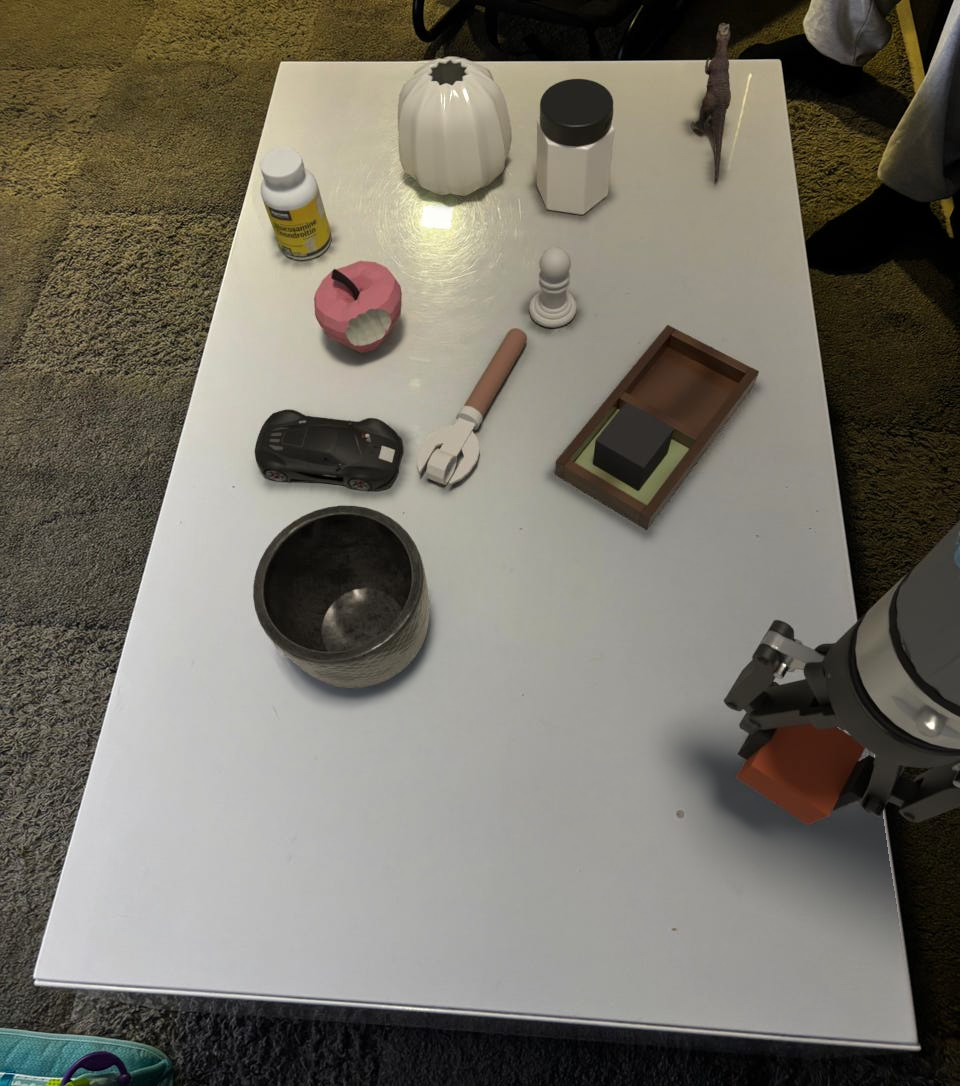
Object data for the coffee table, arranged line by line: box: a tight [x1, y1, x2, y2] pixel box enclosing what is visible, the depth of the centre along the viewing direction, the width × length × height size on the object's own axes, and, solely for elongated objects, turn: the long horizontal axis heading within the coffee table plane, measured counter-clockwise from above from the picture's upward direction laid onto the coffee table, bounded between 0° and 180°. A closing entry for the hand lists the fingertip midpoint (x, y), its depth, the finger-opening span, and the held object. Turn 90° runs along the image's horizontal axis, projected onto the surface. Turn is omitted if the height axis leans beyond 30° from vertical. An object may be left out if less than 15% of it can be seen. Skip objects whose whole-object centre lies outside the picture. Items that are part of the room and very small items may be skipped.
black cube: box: [593, 402, 674, 491], centre depth 81 cm, size 6×6×4 cm
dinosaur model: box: [690, 22, 732, 179], centre depth 98 cm, size 4×12×15 cm
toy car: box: [254, 408, 404, 492], centre depth 84 cm, size 7×15×4 cm, turn 81°
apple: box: [313, 260, 403, 354], centre depth 89 cm, size 10×9×10 cm
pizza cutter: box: [416, 327, 528, 486], centre depth 87 cm, size 20×6×3 cm, turn 154°
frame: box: [554, 324, 760, 531], centre depth 84 cm, size 11×21×3 cm, turn 143°
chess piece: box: [528, 246, 578, 329], centre depth 89 cm, size 5×5×9 cm
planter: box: [252, 504, 431, 689], centre depth 72 cm, size 14×14×13 cm
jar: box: [536, 78, 616, 216], centre depth 96 cm, size 9×8×12 cm
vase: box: [397, 56, 513, 197], centre depth 98 cm, size 14×14×13 cm
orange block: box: [735, 724, 866, 826], centre depth 56 cm, size 6×6×4 cm
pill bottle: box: [259, 146, 332, 261], centre depth 95 cm, size 6×6×12 cm
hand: (790, 766), depth 58 cm, fingers closed on orange block, 5 cm apart
